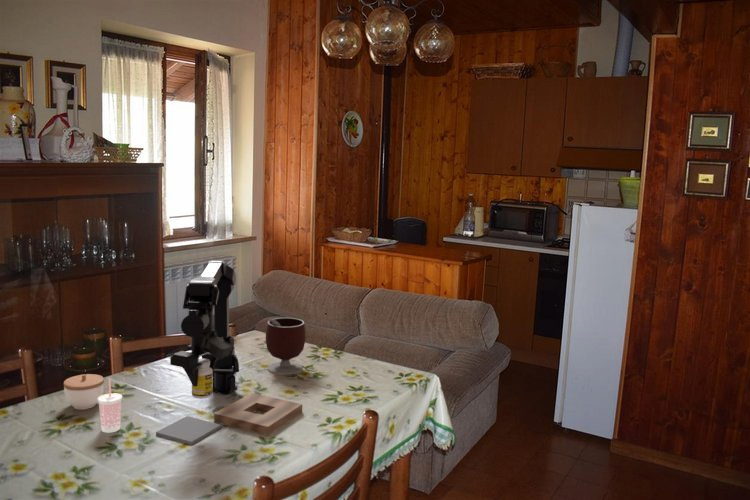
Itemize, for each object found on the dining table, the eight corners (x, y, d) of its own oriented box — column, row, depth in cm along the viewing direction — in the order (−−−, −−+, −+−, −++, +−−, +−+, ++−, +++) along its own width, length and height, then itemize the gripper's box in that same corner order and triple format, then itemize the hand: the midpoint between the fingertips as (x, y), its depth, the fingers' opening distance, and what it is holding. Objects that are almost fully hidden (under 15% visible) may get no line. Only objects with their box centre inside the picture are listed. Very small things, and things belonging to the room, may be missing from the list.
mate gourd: (284, 360, 232) (285, 307, 229) (312, 368, 224) (314, 314, 221) (253, 370, 219) (254, 315, 216) (282, 379, 211) (283, 322, 208)
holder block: (214, 421, 176) (214, 413, 176) (251, 400, 192) (251, 392, 192) (267, 435, 169) (267, 426, 168) (302, 412, 185) (302, 404, 185)
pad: (156, 434, 167) (155, 432, 166) (186, 418, 177) (186, 416, 177) (191, 444, 162) (191, 441, 162) (221, 427, 173) (221, 424, 172)
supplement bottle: (207, 400, 167) (207, 364, 165) (188, 398, 168) (188, 362, 166) (215, 392, 172) (215, 358, 171) (197, 390, 173) (197, 356, 171)
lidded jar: (58, 404, 184) (57, 374, 182) (95, 395, 191) (94, 366, 190) (73, 415, 176) (72, 384, 175) (110, 406, 184) (110, 375, 183)
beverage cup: (128, 426, 171) (126, 377, 169) (111, 435, 165) (110, 384, 163) (110, 422, 173) (108, 374, 171) (93, 431, 167) (91, 381, 165)
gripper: (204, 339, 156) (204, 399, 158) (247, 323, 173) (246, 377, 175) (168, 333, 160) (169, 391, 162) (214, 318, 177) (214, 371, 179)
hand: (201, 382), depth 169 cm, fingers closed on supplement bottle, 5 cm apart
